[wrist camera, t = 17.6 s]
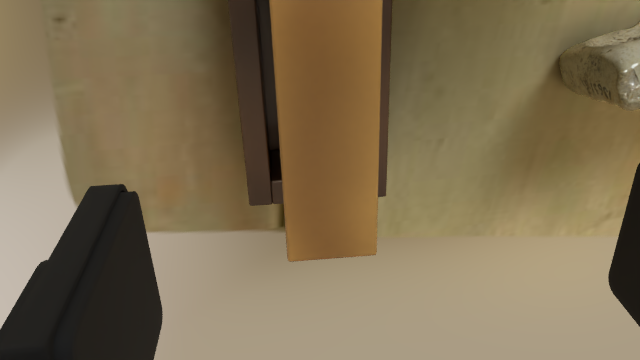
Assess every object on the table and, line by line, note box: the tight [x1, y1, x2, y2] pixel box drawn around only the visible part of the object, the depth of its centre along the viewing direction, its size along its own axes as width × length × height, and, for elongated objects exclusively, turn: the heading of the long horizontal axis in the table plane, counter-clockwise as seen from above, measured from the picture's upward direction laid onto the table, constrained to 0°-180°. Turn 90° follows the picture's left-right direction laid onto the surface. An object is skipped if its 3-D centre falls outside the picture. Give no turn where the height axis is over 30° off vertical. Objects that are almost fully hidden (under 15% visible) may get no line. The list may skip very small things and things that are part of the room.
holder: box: [228, 0, 392, 206], centre depth 23 cm, size 15×6×4 cm, turn 2°
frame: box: [269, 0, 383, 261], centre depth 20 cm, size 3×12×9 cm, turn 2°
